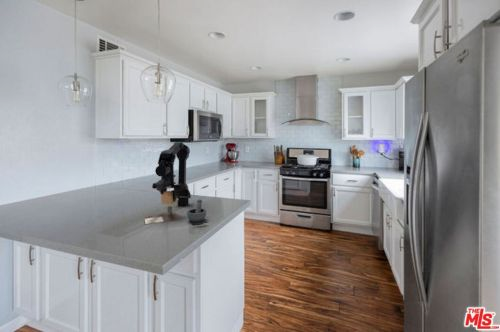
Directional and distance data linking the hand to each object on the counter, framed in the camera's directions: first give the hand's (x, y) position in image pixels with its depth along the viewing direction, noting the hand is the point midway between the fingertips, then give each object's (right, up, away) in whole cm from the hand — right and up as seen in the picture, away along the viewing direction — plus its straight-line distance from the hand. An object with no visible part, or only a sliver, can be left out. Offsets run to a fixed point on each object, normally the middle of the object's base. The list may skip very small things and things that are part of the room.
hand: (169, 201), depth 144 cm
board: (-3, -10, -4) cm, 11 cm away
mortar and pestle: (+17, -11, -7) cm, 22 cm away
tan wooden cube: (0, -1, 0) cm, 1 cm away
